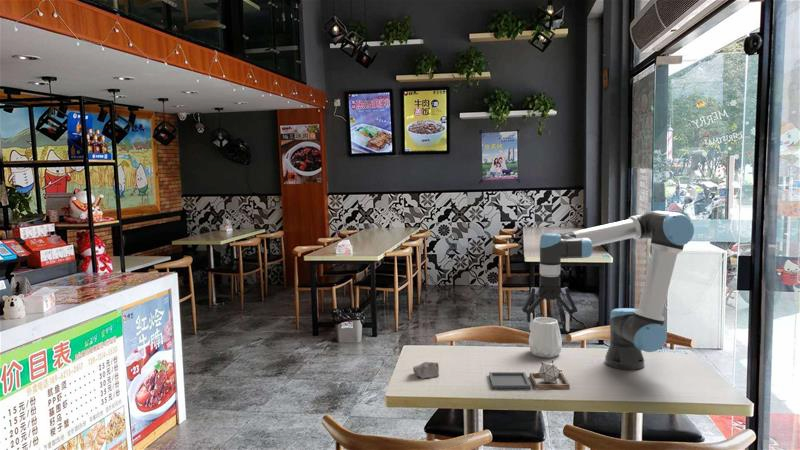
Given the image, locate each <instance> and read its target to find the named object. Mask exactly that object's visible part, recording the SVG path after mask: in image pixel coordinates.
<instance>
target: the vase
mask: <svg viewBox="0 0 800 450" xmlns="http://www.w3.org/2000/svg"><path fill="white" fill-rule="evenodd" d="M559 326H560V325H559V322H558V319H556V318H554V317H547V316H546V317H545V316H540V317H534V318H533V331H530V333H529V337H528V344H529V350H530V353H531V354H532V355H533V356H536V357H539V358H547V359H549V358H554V357H557V356H559V355H560V353H561V351H562V346H563V345H562V343H563V342H562V341H563V340H562V336H561V330H560V327H559Z"/></svg>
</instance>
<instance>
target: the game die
mask: <svg viewBox="0 0 800 450" xmlns="http://www.w3.org/2000/svg"><path fill="white" fill-rule="evenodd" d="M540 364H541V366H540V368H539V370H538V372H536V373H537V375H538V374H539V376H540V377H539V378H541V379H542V380H543V382H544V384H549V383H553V382H555V384H558V381H557V380H558V378H559V377H558V375H559V373H563V370H562V369H561V370H560V369H559V367H557V365H555V364H554V360H551V362H545V363H543V362H542V361H541V362H540Z"/></svg>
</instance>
